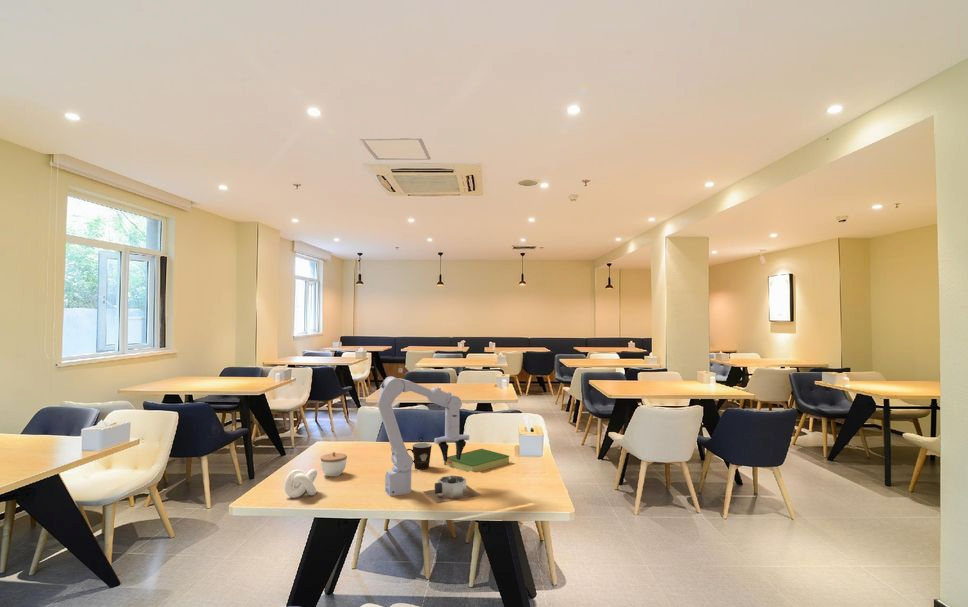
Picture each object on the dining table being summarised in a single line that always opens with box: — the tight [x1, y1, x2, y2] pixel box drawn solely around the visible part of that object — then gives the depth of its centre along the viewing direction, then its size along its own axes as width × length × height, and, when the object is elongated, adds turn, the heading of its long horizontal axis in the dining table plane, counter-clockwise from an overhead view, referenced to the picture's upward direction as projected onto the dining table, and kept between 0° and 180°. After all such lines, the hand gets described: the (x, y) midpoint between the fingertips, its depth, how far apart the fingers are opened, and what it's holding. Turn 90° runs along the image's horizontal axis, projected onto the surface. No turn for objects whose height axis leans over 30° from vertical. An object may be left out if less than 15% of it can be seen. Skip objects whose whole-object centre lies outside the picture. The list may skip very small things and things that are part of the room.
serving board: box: [422, 484, 482, 504], centre depth 178 cm, size 18×14×1 cm
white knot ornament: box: [283, 468, 318, 499], centre depth 177 cm, size 11×12×9 cm
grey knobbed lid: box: [448, 477, 456, 484], centre depth 178 cm, size 7×7×5 cm
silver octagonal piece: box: [434, 474, 467, 498], centre depth 177 cm, size 12×10×5 cm
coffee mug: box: [406, 442, 433, 471], centre depth 214 cm, size 12×9×10 cm
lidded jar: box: [320, 451, 348, 478], centre depth 203 cm, size 11×11×9 cm
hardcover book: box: [443, 448, 510, 473], centre depth 220 cm, size 25×19×4 cm
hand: (451, 460), depth 188 cm, fingers open, 5 cm apart
